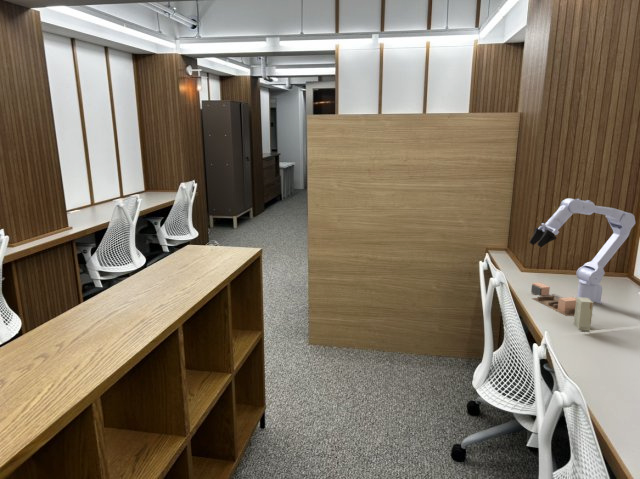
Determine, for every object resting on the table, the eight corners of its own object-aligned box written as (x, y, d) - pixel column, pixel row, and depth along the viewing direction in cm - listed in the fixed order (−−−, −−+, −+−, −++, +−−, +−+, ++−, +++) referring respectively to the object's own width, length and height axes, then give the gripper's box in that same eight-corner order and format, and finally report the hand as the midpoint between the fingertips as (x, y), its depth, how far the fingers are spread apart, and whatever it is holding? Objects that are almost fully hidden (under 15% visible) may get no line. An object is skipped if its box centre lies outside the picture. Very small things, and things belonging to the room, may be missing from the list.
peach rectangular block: (538, 292, 228) (539, 282, 227) (548, 297, 222) (549, 287, 221) (530, 293, 227) (531, 283, 226) (540, 297, 221) (541, 287, 220)
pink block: (570, 307, 205) (571, 296, 204) (578, 311, 201) (579, 300, 200) (556, 308, 204) (557, 297, 203) (564, 312, 199) (565, 301, 198)
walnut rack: (555, 298, 220) (555, 293, 219) (592, 315, 199) (592, 310, 198) (530, 300, 217) (531, 295, 216) (566, 318, 196) (566, 312, 195)
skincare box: (590, 332, 181) (594, 302, 179) (577, 331, 182) (581, 301, 179) (584, 326, 187) (588, 297, 185) (572, 325, 188) (576, 296, 186)
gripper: (542, 214, 212) (521, 237, 213) (558, 216, 198) (535, 240, 199) (553, 224, 213) (532, 247, 214) (570, 227, 198) (547, 251, 200)
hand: (535, 244), depth 207 cm, fingers open, 7 cm apart
